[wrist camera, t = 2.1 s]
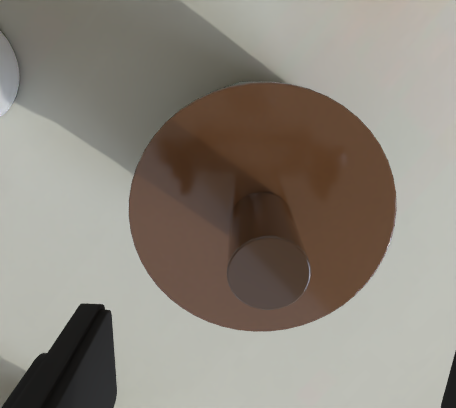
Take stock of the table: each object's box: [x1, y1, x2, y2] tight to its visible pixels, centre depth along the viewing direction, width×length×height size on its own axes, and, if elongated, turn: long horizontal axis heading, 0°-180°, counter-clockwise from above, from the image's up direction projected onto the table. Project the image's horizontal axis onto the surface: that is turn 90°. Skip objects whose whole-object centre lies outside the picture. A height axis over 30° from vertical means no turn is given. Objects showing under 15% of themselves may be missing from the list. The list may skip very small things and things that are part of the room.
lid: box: [129, 82, 396, 331], centre depth 17 cm, size 13×13×6 cm
